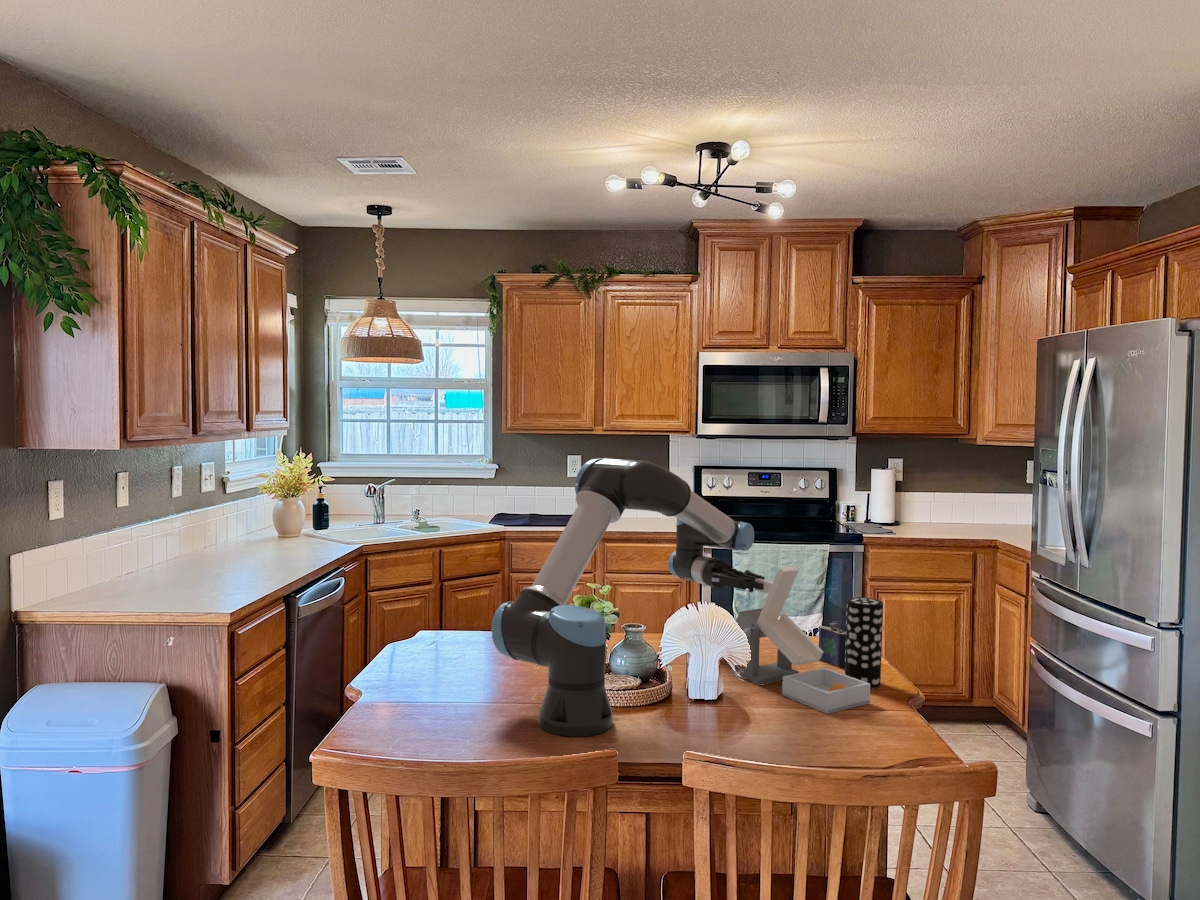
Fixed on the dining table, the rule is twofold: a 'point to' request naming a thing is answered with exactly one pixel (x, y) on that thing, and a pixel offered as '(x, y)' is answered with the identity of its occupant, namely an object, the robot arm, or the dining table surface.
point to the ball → (837, 686)
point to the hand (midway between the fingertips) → (775, 588)
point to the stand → (766, 671)
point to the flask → (832, 645)
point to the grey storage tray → (825, 690)
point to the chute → (781, 622)
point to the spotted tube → (864, 640)
